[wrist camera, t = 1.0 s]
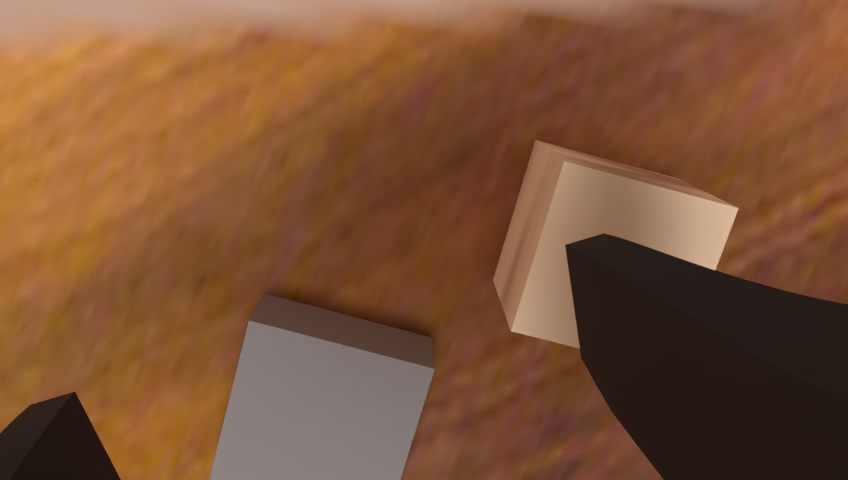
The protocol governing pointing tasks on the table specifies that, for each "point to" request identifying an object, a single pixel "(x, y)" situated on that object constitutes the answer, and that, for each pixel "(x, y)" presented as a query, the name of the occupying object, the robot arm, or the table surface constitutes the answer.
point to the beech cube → (594, 230)
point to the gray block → (322, 397)
